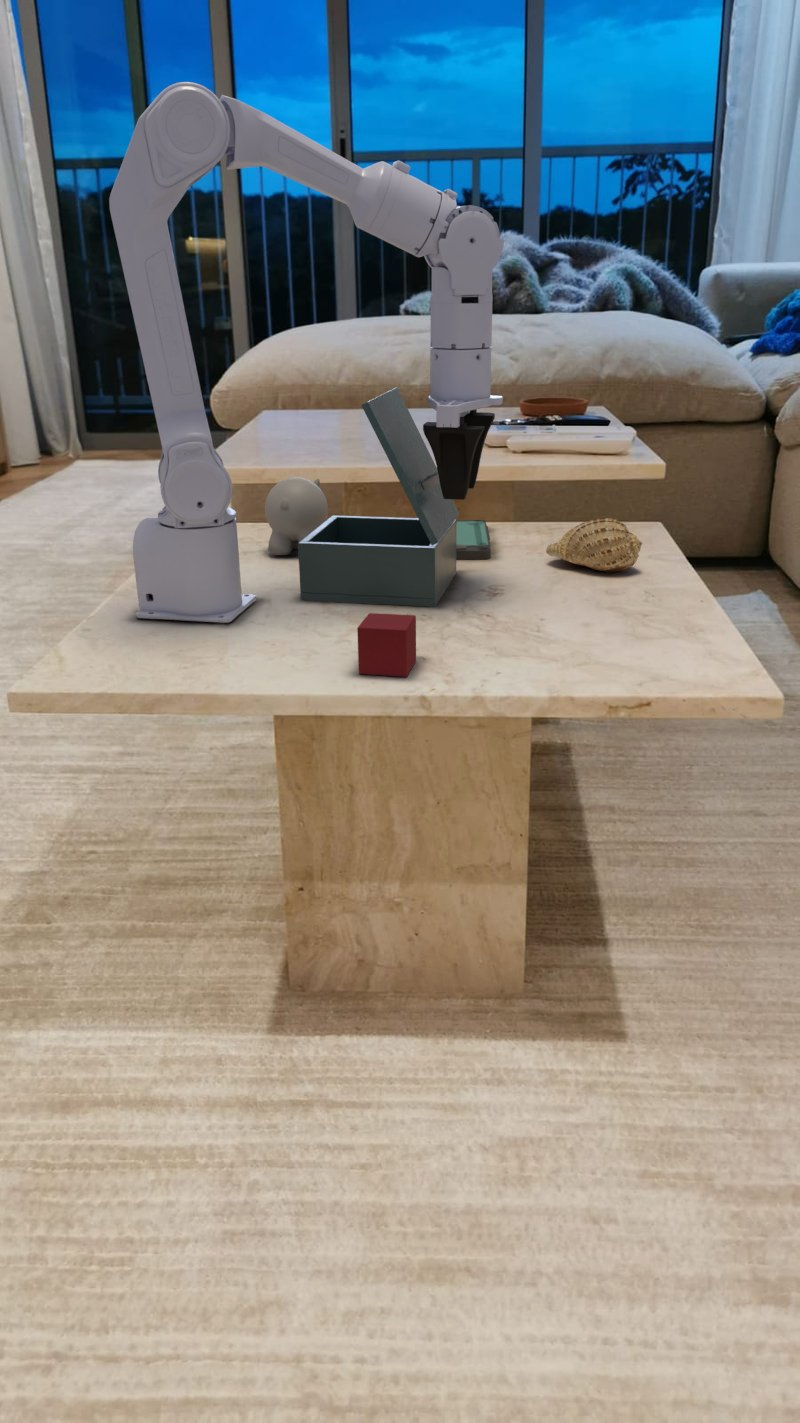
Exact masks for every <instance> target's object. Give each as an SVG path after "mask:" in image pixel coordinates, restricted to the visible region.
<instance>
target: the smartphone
mask: <svg viewBox="0 0 800 1423" xmlns="http://www.w3.org/2000/svg"><path fill="white" fill-rule="evenodd" d="M456 520H457V539H456V560H489V559H491V558H492V557H491V556H492V555H491V553H492V552H491V551H492V549H491V544H490V541H491V537H490V536H491V535H490V531H489V526H488V525H487V521H486V520H484V519H456Z"/></svg>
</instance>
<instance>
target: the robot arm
mask: <svg viewBox="0 0 800 1423" xmlns="http://www.w3.org/2000/svg"><path fill="white" fill-rule="evenodd" d="M224 156H226V160H225V161H226V162H225V169H226V170H237V169H247V168H248V169H249V168H257V167H262V168H265V169H268V170H270V171H272V172H274V173H277V174H279V175H280V176H281V175H282V176H283V177H285V178H288V179H290V180H292V181H295V182H296V183H299V184H301V185H302V186H305V187H307V188H309V189H311V190H314V191H316V192H318V193H321V194H322V195H325V196H327V197H329V198H332V199H333V200H335V201H338V202H340V203H342V204H344V205H346V206H347V209H348V210H349V212H350V214H351V217H352V220H353V223H354V225H355V227H356V228H357V229H360V230H362V231H363V232H366V233H368V234H369V235H371V236H374V237H376V238H378V239H380V240H382V241H384V242H386V243H388V244H390V245H392V246H394V247H396V248H398V249H401V250H402V251H405V252H406V253H408V254H411V255H413V256H414V257H416V258H421V257H424V260H425V262H426V263H427V265H428V266H429V267H430V268H431V294H430V347H429V348H430V349H429V350H430V353H429V355H430V356H429V362H430V364H429V368H430V370H429V371H430V373H429V375H430V378H429V387H430V388H429V391H430V392H429V395H428V397H427V405H428V407H431V408H432V409H433V410H435V411H436V412H435V413H436V417H435V418H436V419H435V421H426V422H425V423H422V430H423V434H424V436H425V438H426V440H427V442H428V444H429V446H430V448H431V451H432V454H433V457H434V461H435V465H436V467H437V470H438V475H439V481H440V486H441V491H442V494H443V498H444V499H452V500H461V501H463V500H466V498H467V495H468V490H469V489H474V488H475V486H476V482H477V479H478V474H479V469H480V463H481V458H482V453H483V448H484V445H485V442H486V439H487V436H488V433H489V431H490V429H491V426H492V425H493V424H494V423H493V422H494V420H495V419H496V416H495V415H496V414H495V413H494V412H485V411H484V412H481V411H480V412H477V411H478V410H480V409H484V408H488V407H491V406H501V405H503V403H504V397H503V395H491V391H492V390H491V389H492V386H491V385H492V383H491V381H492V344H493V343H492V342H493V339H492V338H493V337H492V336H493V301H494V298H493V269H494V267H495V266H496V265H497V264H498V262H499V261H500V258H501V256H502V255H503V254H502V253H503V251H504V245H505V240H504V239H503V238H502V237H501V232H500V228H499V225H498V223H497V221H495V220H494V217H493V215H492V214H491V213H490V212H489V211H488V210H487V209H485V208H484V207H480V206H478V205H474V204H473V205H472V204H468V205H461V206H460V205H457V204H458V203H457V198H458V193H457V192H456V191H453V190H452V189H450V188H447V189H445V190H444V191H442V190H439V189H437V188H436V187H433V186H432V185H430V184H428V183H426V182H424V181H422V180H420V179H419V178H417V177H415V176H413V175H410V174H409V172H410V170H411V166H410V165H409V164H406V163H404V162H403V161H401V160H396V161H393V163H392V164H389V163H387V162H386V161H378V162H376V163H373V164H371V165H369V166H366V167H364V168H363V167H361V166H359V165H357V164H355V163H354V162H352V161H350V160H349V159H346V158H345V157H344V156H342V155H339V154H338V153H336V152H334V151H333V150H331V149H330V148H327V147H325V145H324V146H323V145H322V144H320V143H318V142H317V141H315V140H313V139H311V138H310V137H308V136H306V135H304V134H303V133H301V132H299V131H298V130H295V129H294V128H292V127H290V126H288V125H286V124H285V123H283V122H281V121H280V120H278V119H276V118H274V117H273V116H271V115H269V114H267V113H266V112H264V111H261V110H260V109H257V108H256V107H254V106H251V105H249V104H248V103H246V102H243V101H241V100H239V99H237V98H234V97H230V96H227V95H224V94H221V95H220V97H218V96H217V95H216V94H215V93H214V92H213V91H212V90H211V89H208V87H205V85H202V84H199V83H196V82H192V81H181V82H176V83H173V84H171V85H169V86H167V87H166V88H164V89H163V90H162V91H160V93H159V94H157V96H156V97H155V98H154V99H153V101H152V102H151V103H150V104H149V106H148V107H146V109H145V110H144V111H143V113H141V115H140V116H139V117H138V119H137V122H136V124H135V127H134V130H133V132H132V136H131V139H130V141H129V144H128V146H127V149H126V151H125V154H124V156H123V159H122V163H121V165H120V168H119V170H118V173H117V174H116V175H117V176H116V178H115V181H114V183H113V186H112V188H111V192H110V195H109V198H108V201H109V202H108V203H109V213H110V217H111V221H112V226H113V232H114V235H115V239H116V244H117V248H118V254H119V258H120V263H121V267H122V272H123V276H124V280H125V285H126V290H127V295H128V298H129V303H130V304H129V305H130V307H131V311H132V317H133V321H134V326H135V331H136V335H137V339H138V343H139V348H140V354H141V357H142V363H143V367H144V371H145V372H144V373H145V375H146V381H147V384H148V389H149V394H150V398H151V402H152V407H153V412H154V417H155V421H156V426H157V430H158V435H159V439H160V444H161V455H160V459H159V463H158V468H157V475H158V477H157V478H158V481H159V484H160V486H159V487H160V495H161V499H162V502H163V504H164V507H163V508H162V510H160V511H158V512H157V517H147V518H143V519H142V520H140V522H139V523H138V525H137V526H136V528H135V531H134V535H133V540H132V542H133V543H132V558H133V559H132V560H133V565H134V576H135V584H136V591H137V602H138V603H137V604H138V611H137V612H136V613H135V617H136V618H137V619H152V620H171V621H173V620H174V621H187V622H203V623H205V622H206V623H207V622H208V623H226V624H227V623H231V622H232V621H233V620H234V619H236V618H237V617H238V616H239V615H240V614H242V613H243V612H244V611H245V610H246V609H247V608H249V607H250V606H251V605H252V604H253V603H254V602H255V601H257V599H258V598H257V597H258V596H257V595H256V594H248V593H242V580H241V579H242V578H241V567H240V566H241V565H240V552H239V539H238V525H237V524H238V523H237V514H236V513H237V512H236V511H235V509H233V508H231V507H229V506H230V503H231V500H232V498H233V483H232V478H231V475H230V474H229V472H228V470H227V468H226V467H225V465H224V462H223V459H222V457H221V456H220V454H219V453H218V452H217V450H216V449H215V448H214V443H213V438H212V433H211V430H210V426H209V420H208V417H207V414H206V409H205V405H204V404H205V403H204V399H203V395H202V389H201V383H200V378H199V374H198V370H197V369H198V368H197V365H196V364H197V363H196V359H195V355H194V350H193V345H192V344H193V343H192V339H191V335H190V331H189V325H188V320H187V315H186V310H185V305H184V300H183V294H182V290H181V286H180V280H179V275H178V270H177V265H176V261H175V255H174V250H173V245H172V241H171V236H170V231H169V225H168V220H169V217H170V216H171V215H172V213H173V211H174V210H175V208H176V207H177V206H178V204H179V203H180V201H181V200H182V198H183V197H184V196H185V194H186V193H187V191H188V189H189V188H190V187H191V186H193V185H194V184H196V183H197V182H199V181H200V180H201V179H202V178H204V177H205V176H206V175H207V174H209V173H210V172H211V171H212V170H213V169H214V168H215V167H216V165H217V164H218V163H219V162H220V161H221V160H222V159H223V157H224Z"/></svg>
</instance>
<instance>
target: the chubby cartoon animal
mask: <svg viewBox="0 0 800 1423" xmlns="http://www.w3.org/2000/svg"><path fill="white" fill-rule="evenodd" d="M320 486H321V482H320V479H319V478H316V479H315V480H314V481H312V480H309V479H308V478H304V477H298V476H294V477H293V476H292V477H288V478H285V479H282V480H280V481H278V482H277V483H276V484H275V485H274V486H273V487H272V488H271V489H270V491H269V492H268V494H267V497H266V499H265V503H264V514H265V519H266V521H267V523H268V524H267V525H269V527H270V528H271V534H270V537H269V541H268V551H269V553H270V554H271V555H275V556H287V555H290V554H291V552H292V550H295V549H297V550H298V543H299V542H300V541H302V540H303V539H304V538H305V537H307V536H308V535H309V534H310V533H311V532H313V531H314V530H315V529H316V528H318V527H319V526H320V525H321V524H323V523H324V522H325V521H326V520H328V515H329V506H328V501H327V498H326V495H325V493H324V492H323V490H322V489H321V488H320Z"/></svg>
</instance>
